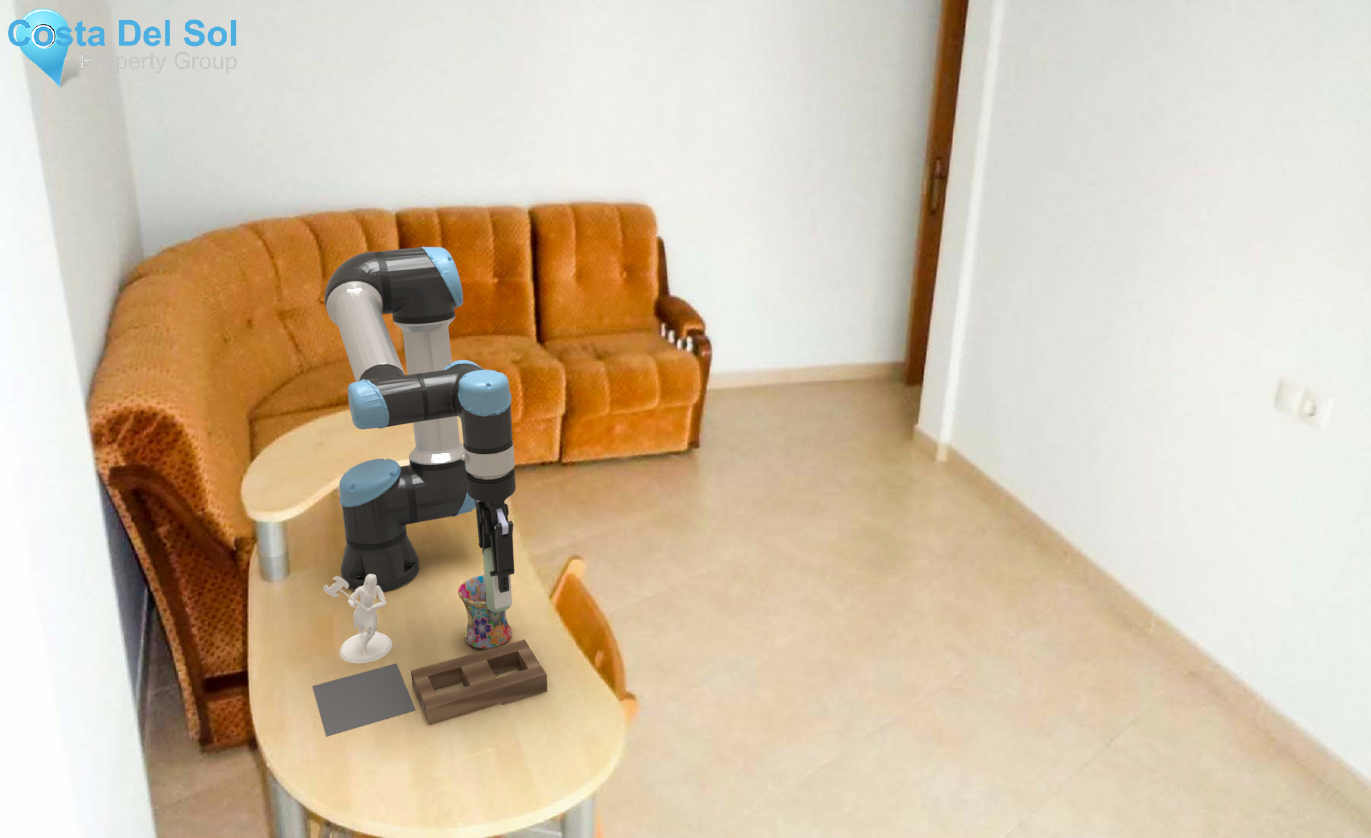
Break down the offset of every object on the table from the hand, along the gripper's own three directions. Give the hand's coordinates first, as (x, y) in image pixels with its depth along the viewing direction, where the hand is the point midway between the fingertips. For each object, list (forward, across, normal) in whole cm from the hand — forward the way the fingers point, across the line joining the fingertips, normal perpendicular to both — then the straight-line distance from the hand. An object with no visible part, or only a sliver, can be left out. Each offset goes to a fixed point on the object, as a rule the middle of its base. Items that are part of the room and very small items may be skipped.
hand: (499, 598), depth 163 cm
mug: (+17, -15, +1) cm, 23 cm away
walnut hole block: (+17, 0, -4) cm, 17 cm away
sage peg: (+1, 0, 0) cm, 1 cm away
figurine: (+17, -20, -20) cm, 33 cm away
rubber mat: (+17, -6, -22) cm, 29 cm away
